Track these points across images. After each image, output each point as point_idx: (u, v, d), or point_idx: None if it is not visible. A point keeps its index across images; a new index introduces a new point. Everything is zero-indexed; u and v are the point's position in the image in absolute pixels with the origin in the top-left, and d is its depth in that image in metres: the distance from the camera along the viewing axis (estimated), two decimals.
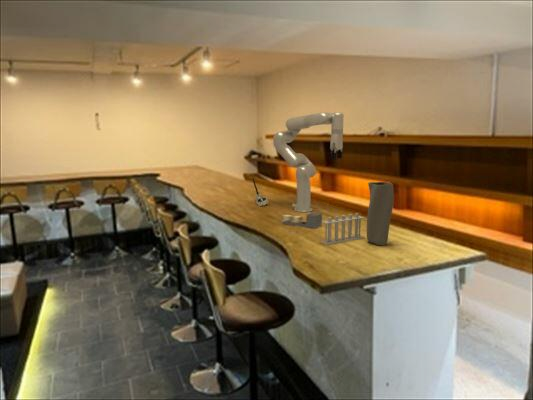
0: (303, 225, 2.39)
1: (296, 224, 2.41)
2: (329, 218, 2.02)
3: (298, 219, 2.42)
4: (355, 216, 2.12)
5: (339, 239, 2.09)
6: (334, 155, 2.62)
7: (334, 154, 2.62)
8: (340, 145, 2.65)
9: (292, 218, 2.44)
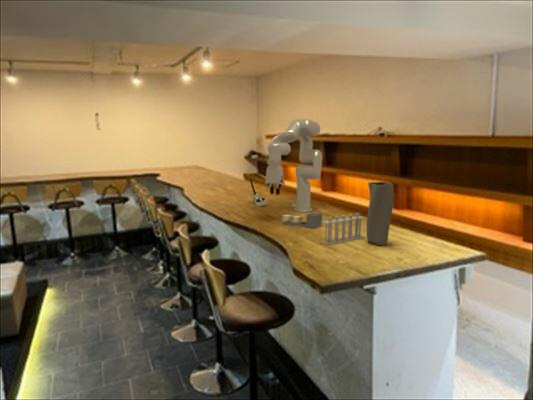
0: (303, 225, 2.39)
1: (296, 224, 2.41)
2: (329, 218, 2.02)
3: (298, 219, 2.42)
4: (355, 216, 2.12)
5: (339, 239, 2.09)
6: None
7: None
8: None
9: (292, 218, 2.44)
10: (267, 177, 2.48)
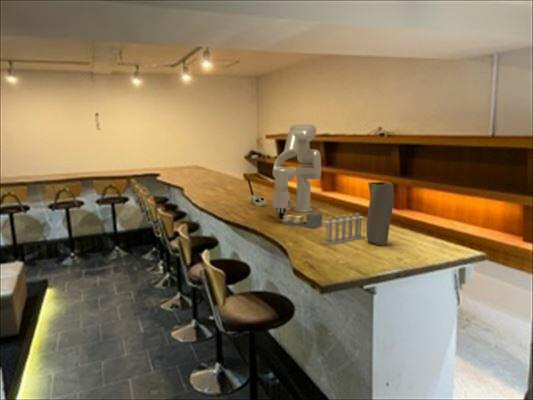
0: (303, 225, 2.39)
1: (296, 224, 2.41)
2: (330, 218, 2.02)
3: (299, 219, 2.41)
4: (356, 216, 2.12)
5: (340, 239, 2.09)
6: (283, 214, 2.49)
7: (283, 213, 2.49)
8: None
9: (293, 218, 2.43)
10: (274, 202, 2.48)
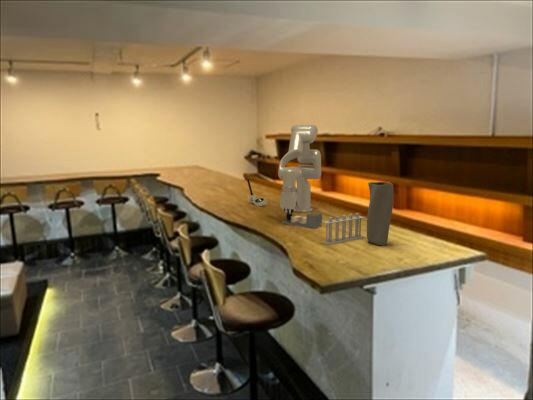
0: (303, 225, 2.39)
1: (296, 224, 2.41)
2: (330, 218, 2.02)
3: None
4: (356, 216, 2.12)
5: (340, 239, 2.09)
6: (291, 215, 2.47)
7: (291, 214, 2.47)
8: None
9: (301, 219, 2.40)
10: (281, 203, 2.45)
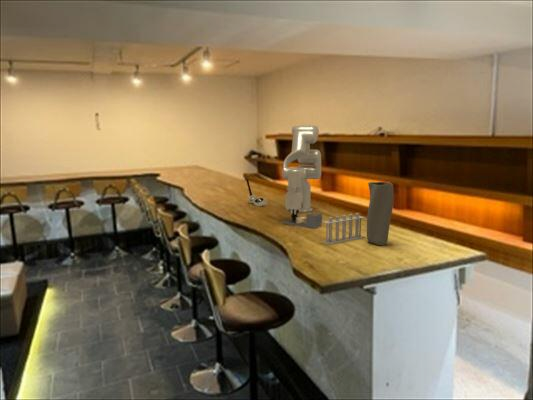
0: (303, 225, 2.39)
1: (296, 224, 2.41)
2: (330, 218, 2.02)
3: None
4: (356, 216, 2.12)
5: (340, 239, 2.09)
6: (296, 216, 2.45)
7: (296, 215, 2.45)
8: None
9: None
10: (286, 203, 2.43)
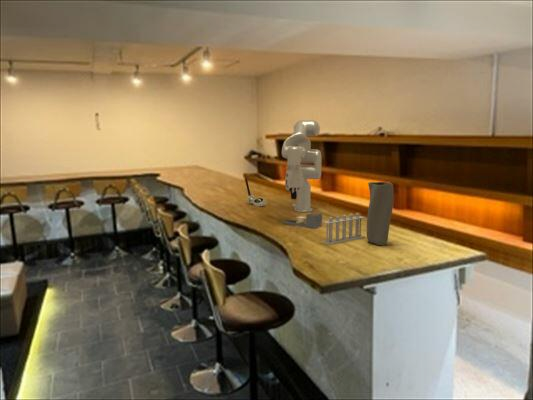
0: (303, 225, 2.39)
1: (296, 224, 2.41)
2: (330, 218, 2.02)
3: None
4: (356, 216, 2.12)
5: (340, 239, 2.09)
6: None
7: None
8: None
9: None
10: (291, 182, 2.37)
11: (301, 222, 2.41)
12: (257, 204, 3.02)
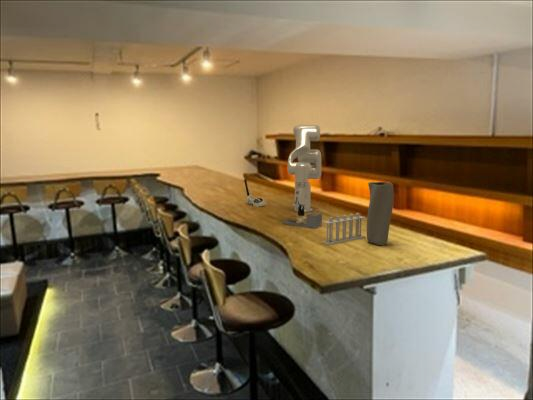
0: (303, 225, 2.39)
1: (296, 224, 2.41)
2: (330, 218, 2.02)
3: None
4: (356, 216, 2.12)
5: (340, 239, 2.09)
6: None
7: None
8: None
9: None
10: (302, 199, 2.36)
11: (301, 222, 2.41)
12: (257, 204, 3.02)
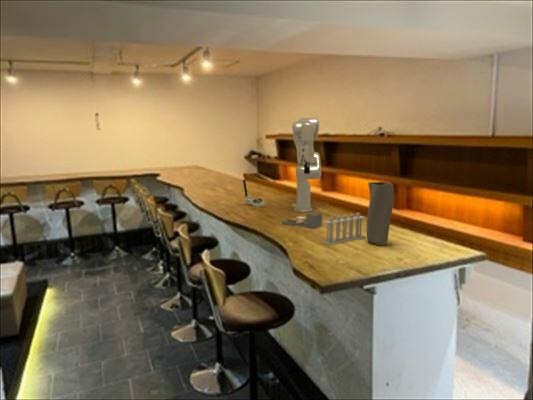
0: (303, 225, 2.39)
1: (296, 224, 2.41)
2: (331, 218, 2.03)
3: None
4: (356, 216, 2.12)
5: (340, 239, 2.09)
6: None
7: None
8: None
9: None
10: (308, 157, 2.47)
11: (301, 222, 2.41)
12: (257, 204, 3.01)
